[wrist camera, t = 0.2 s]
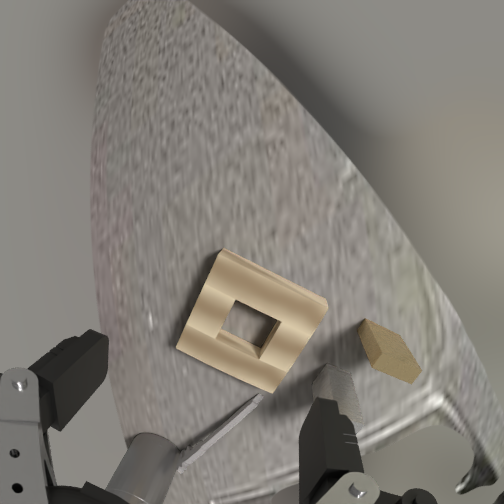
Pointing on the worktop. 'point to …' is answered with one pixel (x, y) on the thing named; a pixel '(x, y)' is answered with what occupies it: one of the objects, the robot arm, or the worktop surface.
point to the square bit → (339, 393)
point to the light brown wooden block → (388, 352)
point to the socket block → (262, 299)
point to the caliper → (215, 435)
